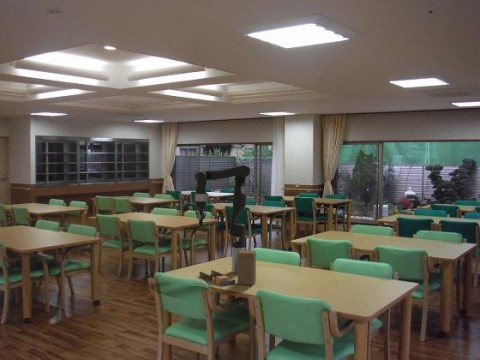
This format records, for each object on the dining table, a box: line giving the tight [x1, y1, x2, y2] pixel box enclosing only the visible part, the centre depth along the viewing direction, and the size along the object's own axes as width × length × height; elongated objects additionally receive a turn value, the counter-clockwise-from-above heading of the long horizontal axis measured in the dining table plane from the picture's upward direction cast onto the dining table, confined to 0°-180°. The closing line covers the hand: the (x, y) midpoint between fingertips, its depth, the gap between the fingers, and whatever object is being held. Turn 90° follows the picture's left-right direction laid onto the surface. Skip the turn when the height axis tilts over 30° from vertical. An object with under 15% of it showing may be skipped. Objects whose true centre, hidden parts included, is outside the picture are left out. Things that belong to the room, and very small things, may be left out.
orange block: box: [215, 274, 230, 285], centre depth 298 cm, size 6×6×4 cm
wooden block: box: [237, 249, 257, 286], centre depth 297 cm, size 10×10×20 cm
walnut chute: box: [199, 269, 225, 282], centre depth 312 cm, size 10×16×3 cm, turn 31°
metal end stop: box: [219, 279, 236, 287], centre depth 294 cm, size 10×2×2 cm, turn 121°
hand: (200, 225), depth 329 cm, fingers closed
